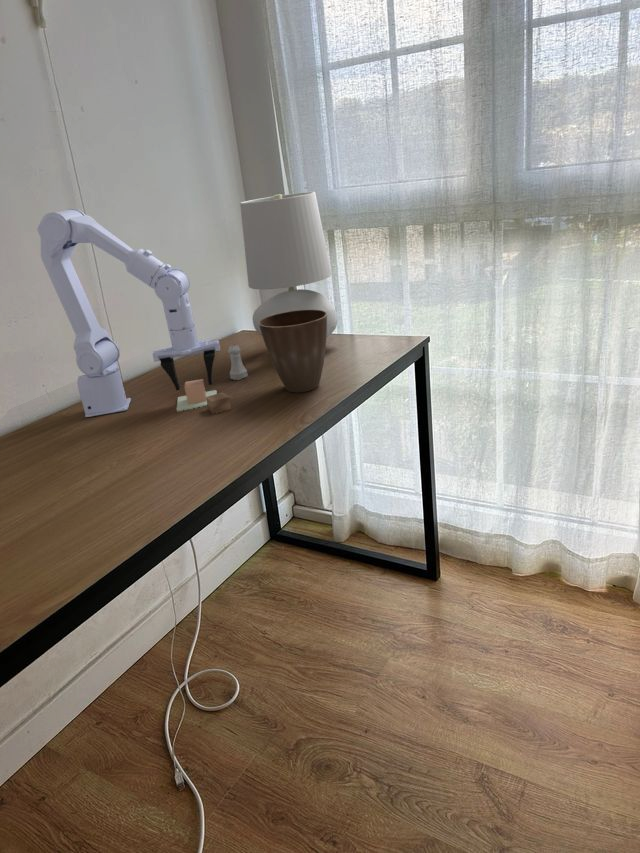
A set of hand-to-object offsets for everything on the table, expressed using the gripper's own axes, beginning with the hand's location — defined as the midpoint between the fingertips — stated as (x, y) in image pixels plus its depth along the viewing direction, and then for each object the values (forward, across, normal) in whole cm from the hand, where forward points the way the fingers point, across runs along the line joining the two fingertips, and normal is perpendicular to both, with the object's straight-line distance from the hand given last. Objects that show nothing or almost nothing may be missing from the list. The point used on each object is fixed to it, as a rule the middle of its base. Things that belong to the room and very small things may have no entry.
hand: (194, 386), depth 150 cm
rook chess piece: (+4, +10, +13) cm, 17 cm away
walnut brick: (+4, +5, -8) cm, 10 cm away
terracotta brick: (+3, 0, 0) cm, 3 cm away
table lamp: (+4, +27, +28) cm, 39 cm away
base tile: (+4, 0, 0) cm, 4 cm away
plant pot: (+4, +24, -3) cm, 24 cm away
